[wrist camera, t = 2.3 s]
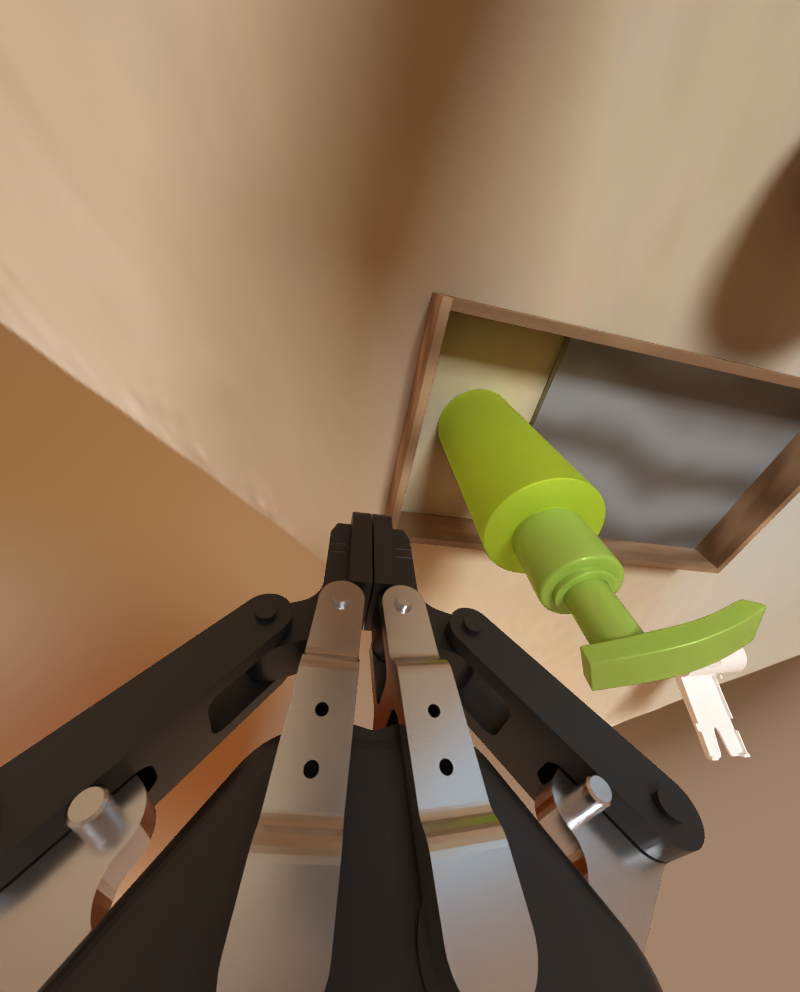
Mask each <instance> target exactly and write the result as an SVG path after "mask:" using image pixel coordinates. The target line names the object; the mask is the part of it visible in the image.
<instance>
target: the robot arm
mask: <svg viewBox="0 0 800 992" xmlns="http://www.w3.org/2000/svg"><path fill="white" fill-rule="evenodd" d="M363 625H364V630H370V631H372V642H371V646H370V651H369V653H370V666H371V679H372V691H373V703H374V721H373V730H369V729H366V728H363V727H359V726H356V725H353V723H354V712H355V704H356V693H357V684H358V674H359V648H360V639H361V630H362V629H363ZM294 674H297V675H296V679H295V683H294V687H293V691H292V695H291V699H290V703H289V706H288V710H287V714H286V718H285V722H284V726H283V730H282V733H281V735H279V736H276V737H274V738H272V739H271V740H269V741H267V742H265V743H264V744H262V745H261V746H260V747H258V748H257V749H256V750H254V751H253V752H252V753H251V754H250V755H249V756H247V757H246V758H245V759H244V760H243V761H242V762H241V763H240V764H239V765H238V767H237V768H236V769H235V770H234V771H233V772H232V773H231V774H230V775H229V777H228V778H227V779H226V780H225V781H224V782H223V783H222V784H221V786H220V787H219V788H218V789H217V790H216V791H215V792H214V793H213V795H212V796H211V797H210V798H209V799H208V800H207V801H206V803H204V805H203V806H202V807H201V808H200V809H199V810H198V811H197V813H196V814H195V815H194V816H193V817H192V818H191V819H190V821H188V823H187V824H186V825H185V826H184V827H183V828H182V829H181V830H180V832H179V833H178V834H177V835H176V836H175V837H174V839H172V841H171V842H170V843H169V844H168V845H167V846H166V847H165V848H164V850H163V851H162V852H161V853H160V854H159V855H158V856H157V857H156V859H155V860H154V861H153V862H152V863H151V864H150V865H149V866H148V868H147V869H146V870H145V871H144V872H143V873H142V874H141V875H140V876H139V878H138V879H137V880H136V881H135V882H134V883H133V884H132V885H131V887H130V888H129V889H128V890H127V891H126V892H125V893H124V894H123V896H122V897H121V898H120V899H119V900H118V901H117V902H116V903H115V904H114V906H113V907H112V908H111V905H112V902H113V899H114V897H115V894H116V892H117V890H118V888H119V886H120V884H121V882H122V880H123V879H124V877H125V876H126V875H127V873H128V872H129V870H130V869H131V868H132V867H133V865H134V864H135V863H136V862H137V860H138V859H139V858H140V857H141V855H142V854H143V852H144V851H145V849H146V848H147V846H148V844H149V842H150V840H151V837H152V835H153V832H154V829H155V825H156V809H155V805H156V804H157V803H158V802H159V801H160V800H161V799H162V798H163V797H165V795H166V794H168V792H170V791H171V790H172V789H173V788H174V787H175V786H176V785H177V784H178V783H179V782H180V781H181V780H182V779H183V778H184V777H185V776H186V775H187V774H188V773H189V772H190V771H192V770H193V769H194V767H196V766H197V765H198V764H199V763H200V762H201V761H202V760H203V759H204V758H205V757H206V756H207V755H208V754H209V753H210V752H211V751H212V750H213V749H214V748H215V747H216V746H217V745H219V743H221V742H222V741H223V740H224V739H225V738H226V737H227V736H228V735H229V734H230V733H231V732H232V731H233V730H234V729H235V728H236V727H237V726H238V725H239V724H240V723H241V722H242V721H243V720H244V719H245V718H247V717H248V716H249V715H250V714H251V713H252V712H253V711H254V710H255V709H256V708H257V707H258V706H259V705H260V704H261V703H262V702H263V701H264V700H265V699H266V698H267V697H268V696H269V695H270V694H271V693H272V692H274V691H275V689H277V688H278V687H279V685H281V684H282V683H283V682H284V681H285V679H286V678H287V676H290V675H294ZM468 726H469V727H470V729H471V730H472V731H473V732H474V733H475V734H476V735H477V736H478V738H479V739H480V740H481V741H482V742H483V743H484V744H485V746H487V748H488V749H489V750H490V751H491V752H492V754H494V756H495V757H496V758H497V759H498V760H499V761H500V763H501V764H502V765H503V766H504V767H505V768H506V769H507V771H508V772H509V773H510V774H511V775H512V776H513V777H514V778H515V780H516V781H517V782H518V783H519V784H520V785H521V786H522V788H523V789H524V790H525V791H526V792H527V793H528V794H529V796H530V797H531V798H532V799H533V800H534V801H535V811H536V816H537V819H538V820H537V819H536V818H535V817H534V816H533V814H532V813H531V812H530V811H529V810H528V808H527V807H526V806H525V805H524V803H523V802H522V801H521V800H520V799H519V797H518V796H517V795H516V794H515V792H514V791H513V790H512V789H511V788H510V786H509V785H508V784H507V783H506V782H505V780H504V779H503V778H502V776H501V775H500V774H499V773H498V772H497V771H496V769H495V768H494V767H493V766H492V764H491V763H490V762H489V761H488V760H487V759H486V757H485V756H484V755H483V754H482V753H481V752H480V751H479V750H478V749H476V748H475V747H474V746H473V743H472V739H471V736H470V732H469V729H468ZM704 838H705V837H704V828H703V824H702V821H701V818H700V816H699V814H698V812H697V810H696V808H695V806H694V805H693V803H692V802H691V800H690V799H689V797H688V796H687V795H686V794H685V793H684V791H683V790H682V789H681V788H680V787H679V786H678V785H677V784H676V783H675V782H674V781H673V780H672V779H670V778H669V777H668V776H667V775H666V774H665V773H664V772H662V771H661V770H660V769H659V768H658V767H657V766H656V765H654V764H653V763H652V762H651V761H650V760H649V759H647V758H646V757H645V756H644V755H643V754H642V753H641V752H640V751H638V750H637V749H636V748H635V747H634V746H633V745H632V744H630V743H629V742H628V741H627V740H626V739H625V738H624V737H622V736H621V735H620V734H619V733H618V732H617V731H616V730H614V729H613V728H612V727H611V726H610V725H609V724H608V723H606V722H605V721H604V720H603V719H602V718H601V717H600V716H598V715H597V714H596V713H595V712H594V711H593V710H592V709H590V708H589V707H588V706H587V705H586V704H585V703H584V702H582V701H581V700H580V699H579V698H578V697H577V696H576V695H574V694H573V693H572V692H571V691H570V690H569V689H568V688H566V687H565V686H564V685H563V684H562V683H561V682H560V681H558V680H557V679H556V678H555V677H554V676H553V675H552V674H550V673H549V672H548V671H547V670H546V669H545V668H544V667H542V666H541V665H540V664H539V663H538V662H537V661H536V660H534V659H533V658H532V657H531V656H530V655H529V654H528V653H526V652H525V651H524V650H523V649H522V648H521V647H520V646H518V645H517V644H516V643H515V642H514V641H513V640H512V639H510V638H509V637H508V636H507V635H506V634H505V633H504V632H502V631H501V630H500V629H499V628H498V627H497V626H496V625H494V624H493V623H492V622H491V621H490V620H489V619H488V618H486V617H485V616H484V615H483V614H481V613H480V612H478V611H476V610H474V609H470V608H460V609H457V610H455V611H454V612H453V613H452V615H451V614H448V613H445V612H442V611H440V610H437V609H435V608H433V607H431V606H429V605H428V604H427V603H425V601H424V599H423V597H422V595H421V594H420V593H419V592H418V590H417V585H416V578H415V572H414V565H413V559H412V552H411V546H410V539H409V538H408V536H407V535H406V534H405V532H404V531H403V530H398V529H393V527H392V517H391V516H387V515H378V514H373V515H372V514H369V513H360V512H353V514H352V521H351V525H350V524H341V523H338V524H337V525H336V526H335V527H334V529H333V530H332V531H331V536H330V543H329V550H328V557H327V564H326V571H325V577H324V583H323V586H322V588H321V589H320V591H319V592H318V593H317V594H315V595H314V596H313V597H311V598H309V599H306V600H303V601H298V602H293V603H289V601H288V600H287V599H286V598H284V597H283V596H280V595H277V594H263V595H259V596H256V597H254V598H252V599H251V600H249V601H248V602H246V603H245V604H243V605H242V606H240V607H239V608H237V609H236V610H234V611H233V612H231V613H230V614H228V615H227V616H225V617H224V618H222V619H221V620H219V621H218V622H216V623H215V624H213V625H212V626H210V627H209V628H208V629H206V630H204V631H203V632H201V633H200V634H198V635H197V636H195V637H194V638H192V639H191V640H189V641H188V642H186V643H185V644H183V645H182V646H181V647H179V648H178V649H176V650H175V651H173V652H172V653H170V654H169V655H167V656H166V657H164V658H163V659H161V660H160V661H158V662H157V663H155V664H154V665H152V666H151V667H149V668H148V669H146V670H145V671H143V672H142V673H140V674H139V675H137V676H136V677H134V678H133V679H131V680H130V681H128V682H127V683H125V684H124V685H123V686H121V687H120V688H118V689H116V690H115V691H113V692H112V693H111V694H109V695H108V696H106V697H105V698H103V699H102V700H100V701H99V702H97V703H96V704H94V705H93V706H91V707H90V708H88V709H87V710H85V711H84V712H82V713H81V714H80V715H78V716H76V717H75V718H73V719H72V720H71V721H69V722H67V723H66V724H64V725H63V726H61V727H60V728H58V729H57V730H55V731H54V732H52V733H51V734H49V735H48V736H46V737H45V738H44V739H42V740H41V741H39V742H38V743H36V744H35V745H33V746H32V747H30V748H29V749H27V750H26V751H24V752H23V753H21V754H20V755H18V756H17V757H15V758H14V759H12V760H11V761H9V762H8V763H6V764H5V765H3V766H2V767H0V992H663V991H662V988H661V986H660V984H659V982H658V980H657V978H656V975H655V974H654V972H653V970H652V968H651V966H650V965H649V963H648V961H647V959H646V957H645V956H644V952H645V947H646V943H647V939H648V935H649V930H650V926H651V921H652V917H653V913H654V909H655V904H656V900H657V896H658V891H659V887H660V883H661V878H662V874H663V870H664V866H665V865H666V864H667V863H669V862H671V861H673V860H676V859H678V858H680V857H683V856H685V855H687V854H690V853H692V852H694V851H697V850H699V849H700V848H701V847H702V845H703V843H704ZM110 908H111V909H110Z"/></svg>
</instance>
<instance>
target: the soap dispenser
mask: <svg viewBox="0 0 800 992" xmlns="http://www.w3.org/2000/svg"><path fill="white" fill-rule="evenodd" d="M438 435H439V439H440V442H441V444H442V447H443V449H444V451H445V454H446V456H447V459H448V461H449V464H450V466H451V468H452V471H453V473H454V476H455V478H456V481H457V483H458V485H459V488H460V490H461V493H462V495H463V498H464V500H465V503H466V505H467V507H468V510H469V512H470V515H471V517H472V520H473V522H474V524H475V527H476V529H477V532H478V534H479V537H480V539H481V541H482V544H483V546H484V549H485V551H486V553H487V555H488V557H489V558H490V559H491V560H492V561H493V562H494V563H495V564H496V565H498V566H499V567H501V568H503V569H506V570H508V571H512V572H517V573H526V575H527V577H528V579H529V581H530V583H531V585H532V587H533V589H534V591H535V593H536V595H537V597H538V598H539V600H540V602H541V603H542V605H543V606H544V607H545V608H547V609H548V610H550V611H553V612H555V613H560V614H572V615H573V617H574V618H575V620H576V622H577V624H578V625H579V627H580V629H581V630H582V632H583V634H584V636H585V637H586V639H587V641H588V642H589V644H590V645H586V646H581V647H580V650H581V657H582V665H583V672H584V676H585V678H586V680H587V682H588V683H589V685H590V687H591V689H592V690H593V691H594V690H602V689H609V688H616V687H623V686H629V685H636V684H642V683H647V682H653V681H658V680H663V679H667V678H672V677H676V676H680V675H683V674H687V673H690V672H693V671H696V670H699V669H701V668H704V667H707V666H709V665H711V664H713V663H716V662H718V661H720V660H722V659H724V658H726V657H728V656H729V655H731V654H733V653H734V652H736V651H738V650H739V649H741V648H742V647H744V646H745V645H747V644H748V643H750V642H751V641H752V640H753V639H754V637H755V635H756V632H757V629H758V627H759V624H760V622H761V619H762V617H763V614H764V612H765V609H766V605H763V604H760V603H756V602H752V601H747V600H739V601H737V602H735V603H733V604H731V605H729V606H727V607H725V608H723V609H721V610H719V611H717V612H715V613H713V614H711V615H708V616H706V617H703V618H700V619H697V620H694V621H691V622H688V623H684V624H681V625H677V626H673V627H669V628H664V629H660V630H655V631H651V632H646V633H644V632H643V631H642V629H641V628H640V627H639V625H638V624H637V623H636V621H635V620H634V619H633V617H632V616H631V615H630V613H629V612H628V611H627V609H626V608H625V607H624V605H623V604H622V603H621V601H620V600H619V599H618V597H617V596H616V595H615V593H616V592H617V591H618V590H619V588H620V587H621V585H622V583H623V579H624V569H623V567H622V565H621V563H620V562H619V561H618V559H617V558H616V557H615V556H614V555H613V553H612V552H611V551H610V550H609V549H608V548H607V546H606V545H605V544H604V543H603V542H602V541H601V539H600V538H599V537H598V534H599V533H600V531H601V529H602V526H603V523H604V520H605V504H604V500H603V498H602V496H601V495H600V493H599V492H598V491H597V490H596V488H594V487H593V486H592V485H591V484H590V483H589V482H588V481H587V480H586V479H585V478H584V477H583V476H582V475H581V474H580V473H579V472H578V471H577V470H576V469H575V468H574V467H573V466H572V465H571V464H570V463H569V462H568V461H567V460H566V459H565V458H564V457H563V456H562V455H561V454H560V453H559V452H558V451H556V450H555V449H554V448H553V447H552V446H551V445H550V444H549V443H548V442H547V441H546V440H545V439H544V438H543V437H542V436H541V435H540V434H539V433H538V432H537V431H536V430H535V429H534V428H533V427H532V426H531V425H530V424H529V423H528V422H527V421H526V420H525V419H524V418H523V417H522V416H521V415H520V414H518V413H517V412H516V411H515V410H514V409H513V408H512V407H511V406H510V405H509V404H508V403H507V402H506V401H505V400H504V399H503V398H502V397H501V396H500V395H498V394H496V393H495V392H492V391H489V390H483V389H478V390H471V391H468V392H465V393H463V394H461V395H459V396H457V397H456V398H454V399H453V400H452V401H451V402H450V403H449V404H448V405H447V406H446V408H445V409H444V411H443V413H442V415H441V417H440V420H439V424H438Z"/></svg>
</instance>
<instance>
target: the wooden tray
mask: <svg viewBox="0 0 800 992" xmlns="http://www.w3.org/2000/svg"><path fill="white" fill-rule="evenodd" d="M450 310H451V311H455V312H460V313H464V314H469V315H473V316H478V317H482V318H487V319H491V320H495V321H500V322H504V323H509V324H513V325H518V326H522V327H527V328H531V329H536V330H540V331H544V332H549V333H553V334H558V335H562V336H567V338H566V340H565V343H564V345H563V347H562V350H561V352H560V354H559V357H558V359H557V361H556V364H555V366H554V368H553V371H552V373H551V375H550V378H549V380H548V382H547V385H546V387H545V389H544V392H543V394H542V396H541V399H540V401H539V404H538V406H537V408H536V411H535V413H534V415H533V418H532V420H531V422H530V425H531V426H532V427H533V428H534V429H535V430H536V431H537V432H538V433H539V434H540V435H541V436H542V437H543V438H544V439H545V440H546V441H547V442H548V443H549V444H550V445H551V446H552V447H553V448H554V449H555V450H556V451H558V452H559V453H560V454H561V455H562V456H563V457H564V458H565V459H566V460H567V461H568V462H569V463H570V464H571V465H572V466H573V467H574V468H575V469H576V470H577V471H578V472H579V473H580V474H581V475H582V476H583V477H584V478H585V479H586V480H587V481H588V482H589V483H590V484H591V485H592V486H593V487H594V488H596V490H597V491H598V492H599V493H600V495H601V496H602V498H603V500H604V504H605V520H604V523H603V526H602V529H601V531H600V533H599V534H598V537H599V538H600V539H601V541H602V542H603V543H604V544H605V545H606V546H607V548H608V549H609V550H610V551H611V552H612V553H613V555H614V556H615V557H616V558H617V559H618V561H619V562H620V563H621V564H630V565H640V566H650V567H660V568H670V569H680V570H690V571H700V572H710V573H719V572H720V571H721V570H722V569H723V568H724V567H725V566H726V565H727V564H728V563H729V562H730V561H731V560H732V559H733V558H734V557H735V556H736V555H737V554H738V553H739V552H740V551H741V550H742V549H743V548H744V547H745V546H746V545H747V544H748V543H749V542H750V541H751V540H752V539H753V538H754V537H755V536H756V535H757V534H758V533H759V532H760V531H761V530H762V529H763V528H764V527H765V526H766V525H767V524H768V523H769V522H770V521H771V520H772V519H773V518H774V517H775V516H776V515H777V514H778V513H779V512H780V511H781V510H782V509H783V508H784V507H785V506H786V505H787V504H788V503H789V502H790V501H791V500H792V499H793V498H794V497H795V496H796V495H797V494H798V493H799V492H800V377H796V376H792V375H787V374H783V373H779V372H775V371H770V370H766V369H762V368H757V367H753V366H749V365H744V364H740V363H736V362H731V361H727V360H723V359H719V358H714V357H710V356H706V355H701V354H697V353H693V352H688V351H684V350H680V349H675V348H671V347H667V346H662V345H658V344H654V343H650V342H645V341H641V340H637V339H632V338H628V337H624V336H619V335H615V334H611V333H606V332H602V331H598V330H594V329H589V328H585V327H581V326H576V325H572V324H568V323H563V322H559V321H555V320H550V319H546V318H542V317H537V316H533V315H529V314H525V313H520V312H516V311H512V310H507V309H503V308H499V307H494V306H490V305H486V304H481V303H477V302H473V301H469V300H464V299H460V298H456V297H451V296H447V295H443V294H438V293H434V292H433V295H432V300H431V304H430V309H429V314H428V318H427V323H426V327H425V332H424V337H423V341H422V346H421V351H420V355H419V360H418V364H417V369H416V374H415V378H414V383H413V388H412V392H411V397H410V402H409V406H408V411H407V415H406V420H405V425H404V429H403V434H402V439H401V443H400V448H399V452H398V457H397V462H396V466H395V471H394V476H393V480H392V485H391V489H390V494H389V499H388V503H387V508H386V513H385V515H387V516H391V517H392V527H393V529H398V530H403V531H404V532H405V534H406V535H407V536H408V538H409V539H410V542H412V543H422V544H432V545H442V546H452V547H462V548H472V549H482V550H485V549H484V546H483V544H482V541H481V539H480V537H479V534H478V532H477V529H476V527H475V524H474V522H473V520H471V519H462V518H454V517H445V516H437V515H428V514H419V513H411V512H402V511H401V509H402V505H403V501H404V496H405V492H406V488H407V484H408V480H409V476H410V472H411V468H412V464H413V460H414V456H415V452H416V448H417V444H418V439H419V435H420V431H421V427H422V423H423V419H424V415H425V411H426V407H427V403H428V399H429V395H430V391H431V387H432V382H433V378H434V374H435V370H436V366H437V362H438V358H439V354H440V350H441V346H442V342H443V338H444V334H445V330H446V325H447V321H448V317H449V313H450Z"/></svg>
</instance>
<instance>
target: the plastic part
mask: <svg viewBox="0 0 800 992" xmlns="http://www.w3.org/2000/svg"><path fill="white" fill-rule="evenodd" d="M746 663H747V657H746V654H745V651H744V650H743V648H741V649H739V650H738V651H736V652H734V653H733V654H731V655H729V656H728V657H726V658H724V659H722V660H720V661H718V662H716V663H713V664H711V665H709V666H707V667H704V668H701V669H699V670H696V671H693V672H690V673H687V674H683V675H680V676H676V677H675V679H676V681H677V684H678V686H679V689H680V691H681V694H682V697H683V699H684V701H685V704H686V707H687V709H688V712H689V714H690V717H691V719H692V722H693V724H694V727H695V730H696V732H697V735H698V737H699V740H700V742H701V745H702V747H703V750H704V753H705V755H706V757H707V759H710V760H719V759H718V758H720V757H721V753H720V749H719V746H718V743H717V739H716V736H715V732H714V728H715V729H716V730H717V732H718V734H719V736H720V738H721V740H722V742H723V744H724V746H725V748H726V750H727V752H728V753H729V755H731V756H742V757H750V755H749V754H748V753H747V751H746V748H745V746H744V743H743V741H742V739H741V736H740V734H739V732H738V731H737V730H734V727H733V725H732V723H731V720H730V718H733V717H732V715H731V712H730V710H729V707H728V705H727V703H726V700H725V698H724V696H723V693H722V691H721V688H720V686H719V683H718V681H717V678H721V679H722V675H720V677H718V675H717V673H726V672H736V671H741V670H742V669H744V667H745V666H746Z"/></svg>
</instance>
